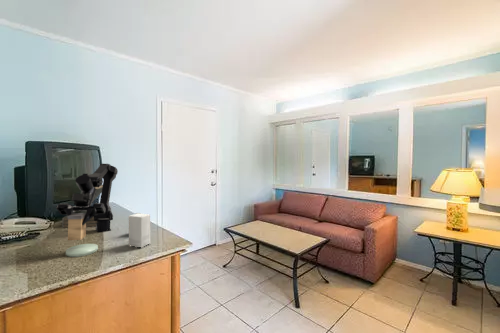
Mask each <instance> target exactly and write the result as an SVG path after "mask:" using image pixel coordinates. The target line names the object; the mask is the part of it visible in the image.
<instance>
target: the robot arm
mask: <svg viewBox="0 0 500 333" xmlns="http://www.w3.org/2000/svg"><path fill="white" fill-rule="evenodd" d="M117 175H118V168H117V167H116V166H114V165H111V164H110V163H99V166H98V168H97V169H95V171H94V172H93V173H90V174H89V173H82V175H79V176H77V177H76V178H75V180H74V181H75V183H76V185H77V187H78V189H79V190H80V191H81V192H80V193H73V194H72V197H71V202H73V204H74V206H73V205H70V203H59V204H57V206H56V207H55V209H56V210H57V212H58V213H59V214H60V215H62V216H69V215H71V214H73V213H74V211H87V212H86V215H85V217H84V219H83V222H82V225H84V224H85V223H86V222H87V221H89V220H90V219H91V218H92V217H94V221H97V223H96V226H95V231H96V232H98V233H103V232H109V231H112V229H111V221H113V220H114V215H113V212H112V207H111V206H110V196H111V190H112V185H113V182H114V180H116V176H117ZM101 185H103V187H102V192H101V193H100V198H99V200H100V201H99V202H98V203H97V202H96V203H94V201H93V198H94V196H95V194H96V188H95V187H100V186H101ZM92 204H93V205H92Z"/></svg>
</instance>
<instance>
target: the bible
mask: <svg viewBox="0 0 500 333" xmlns="http://www.w3.org/2000/svg"><path fill="white" fill-rule="evenodd" d="M102 187H103V184H102V185H101V186H100V187H95V188H96V194H95V196H94V198H93V202H94V201H95V200H96V199H97V198H98V197H99V195H100V196H101V193H102ZM86 212H87V211H74V213H86ZM61 220H62V221H61V222H62V223H61V228H68V215H65V216H64V217H62V218H61ZM96 223H97V221H94V217H92V218H91V219H90V220H89V221H87V222H86V228H87V227H96Z"/></svg>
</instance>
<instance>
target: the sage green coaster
mask: <svg viewBox="0 0 500 333" xmlns="http://www.w3.org/2000/svg"><path fill="white" fill-rule="evenodd" d="M98 250H99V245H98V244H96V243H83V244H82V243H80V244H78V245H77V244H76V245H73V246H70V247H69V248H66V250H65V256H66V257H70V258H78V257H84V256H89V255H93V254H94V253H96V252H97V251H98Z"/></svg>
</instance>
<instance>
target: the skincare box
mask: <svg viewBox="0 0 500 333" xmlns="http://www.w3.org/2000/svg"><path fill="white" fill-rule="evenodd" d="M136 213H137V214H136ZM136 213H134V214H131V215H128V246H129V245H131V246H136V247H135V248H137V247H143V246H145V245H147V244H149V243H150V244H151V214H149V213H147V214H146V213H141V214H140V212H136ZM150 244H149V245H150ZM131 246H130V247H131ZM147 246H148V245H147ZM145 247H146V246H145ZM143 248H144V247H143Z"/></svg>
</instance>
